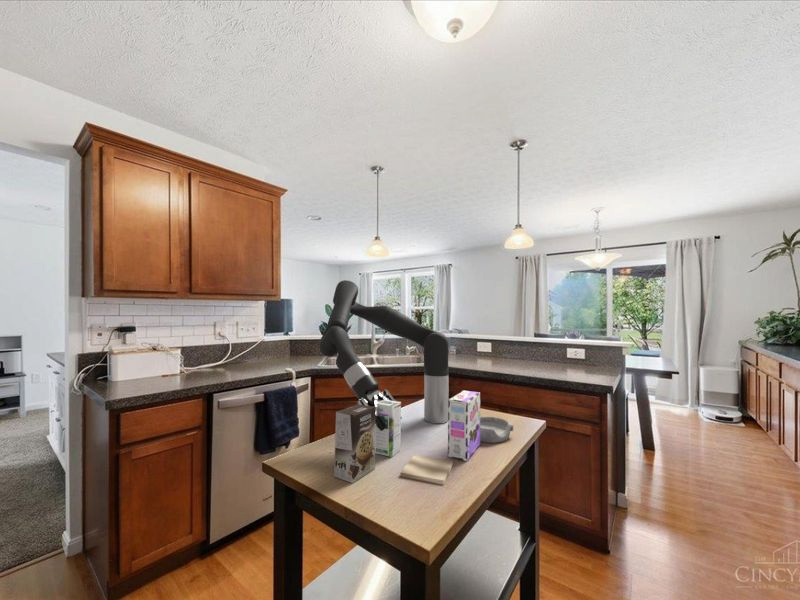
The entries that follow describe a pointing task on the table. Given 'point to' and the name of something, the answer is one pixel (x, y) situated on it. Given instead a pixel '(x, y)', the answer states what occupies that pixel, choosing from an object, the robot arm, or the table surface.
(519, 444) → the table surface
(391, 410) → the syrup box
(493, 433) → the dish
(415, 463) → the maple board
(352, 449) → the grey cardboard box
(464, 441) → the candy box
